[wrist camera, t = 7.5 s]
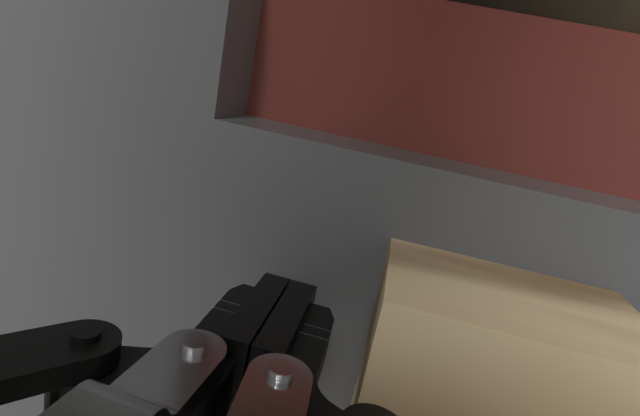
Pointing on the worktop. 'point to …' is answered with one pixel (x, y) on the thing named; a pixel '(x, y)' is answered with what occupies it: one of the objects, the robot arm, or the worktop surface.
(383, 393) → the maple block
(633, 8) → the worktop surface
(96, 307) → the trap deck
